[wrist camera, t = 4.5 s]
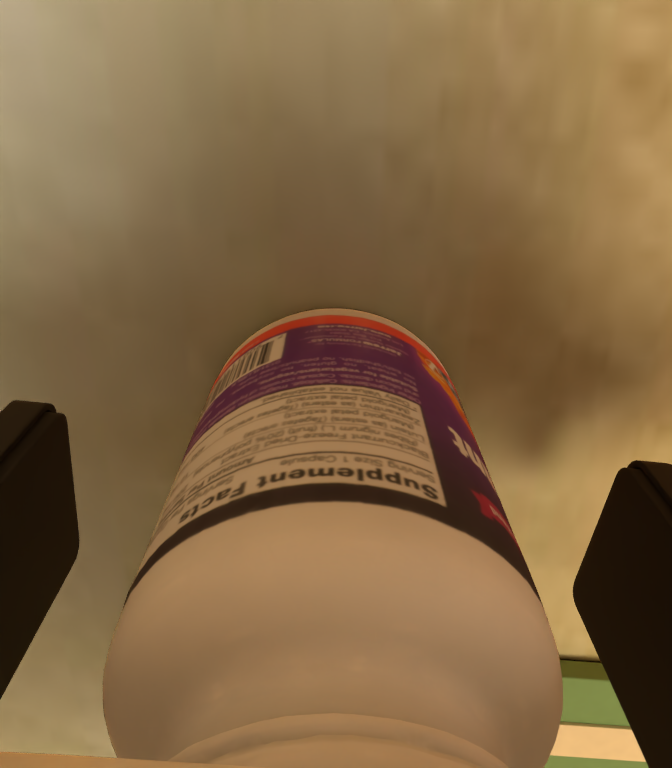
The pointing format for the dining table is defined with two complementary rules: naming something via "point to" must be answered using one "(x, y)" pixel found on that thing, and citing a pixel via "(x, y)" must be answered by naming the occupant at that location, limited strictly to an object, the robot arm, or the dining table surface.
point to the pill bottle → (333, 574)
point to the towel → (592, 723)
